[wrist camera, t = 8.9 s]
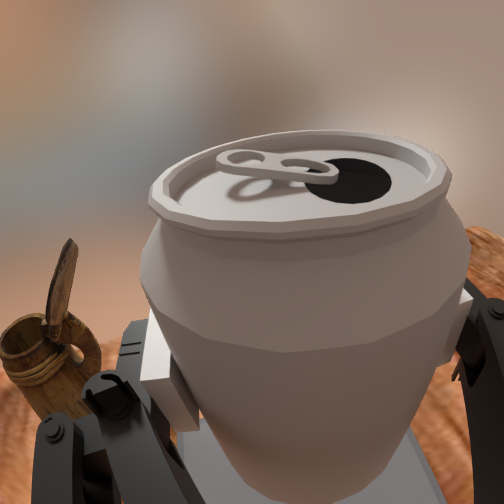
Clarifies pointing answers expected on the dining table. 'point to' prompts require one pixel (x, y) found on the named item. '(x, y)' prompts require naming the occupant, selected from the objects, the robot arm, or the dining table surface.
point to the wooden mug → (52, 349)
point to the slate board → (249, 500)
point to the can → (306, 299)
